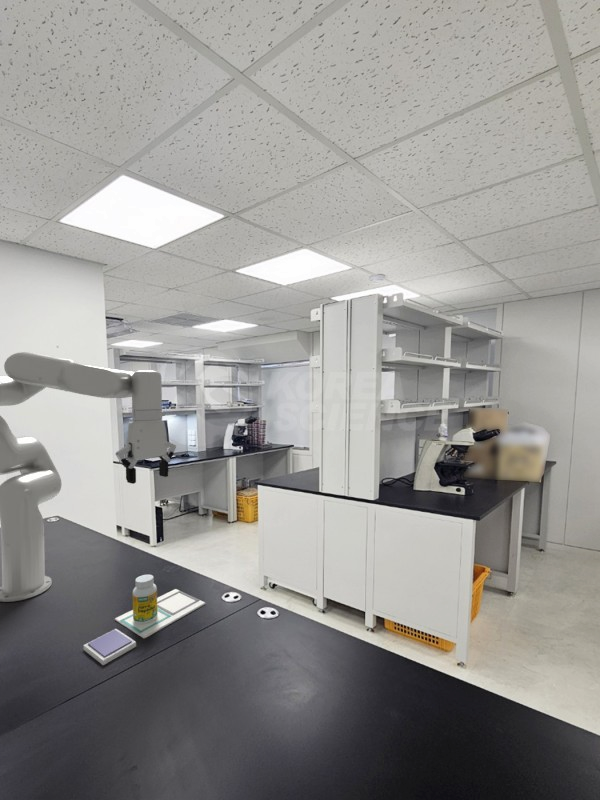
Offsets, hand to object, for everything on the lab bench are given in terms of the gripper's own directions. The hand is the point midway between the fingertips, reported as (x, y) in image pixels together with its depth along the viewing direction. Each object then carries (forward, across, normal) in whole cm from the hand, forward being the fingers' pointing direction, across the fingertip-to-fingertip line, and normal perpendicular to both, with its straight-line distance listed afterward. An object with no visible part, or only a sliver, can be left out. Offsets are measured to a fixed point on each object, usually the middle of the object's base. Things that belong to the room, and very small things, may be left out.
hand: (148, 479), depth 105 cm
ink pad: (+30, +19, +15) cm, 39 cm away
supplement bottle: (+30, +9, +12) cm, 34 cm away
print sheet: (+30, +4, +12) cm, 33 cm away
